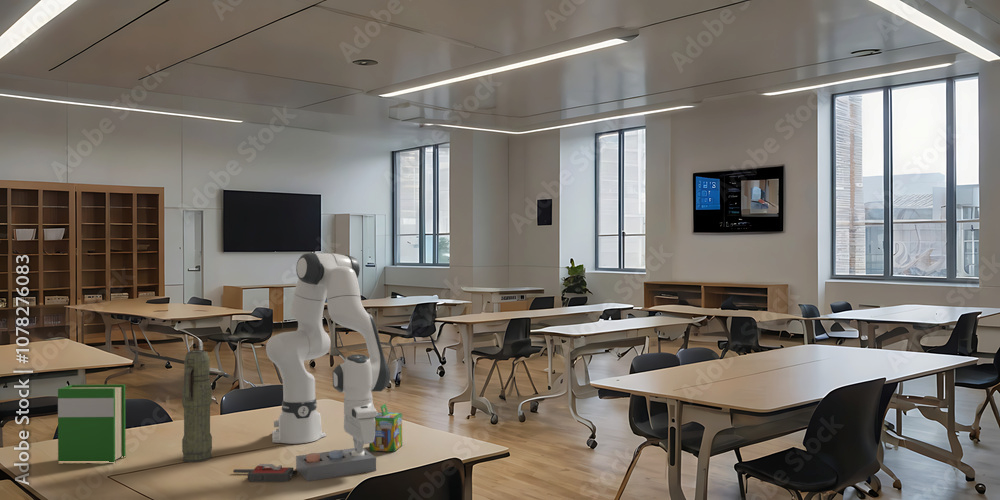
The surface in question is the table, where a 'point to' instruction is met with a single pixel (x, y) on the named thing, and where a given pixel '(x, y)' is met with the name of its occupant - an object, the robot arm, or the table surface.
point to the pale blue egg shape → (335, 454)
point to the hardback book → (91, 422)
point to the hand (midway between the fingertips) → (358, 451)
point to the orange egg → (312, 457)
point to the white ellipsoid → (356, 453)
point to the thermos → (196, 407)
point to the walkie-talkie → (268, 473)
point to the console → (335, 465)
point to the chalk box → (387, 431)
